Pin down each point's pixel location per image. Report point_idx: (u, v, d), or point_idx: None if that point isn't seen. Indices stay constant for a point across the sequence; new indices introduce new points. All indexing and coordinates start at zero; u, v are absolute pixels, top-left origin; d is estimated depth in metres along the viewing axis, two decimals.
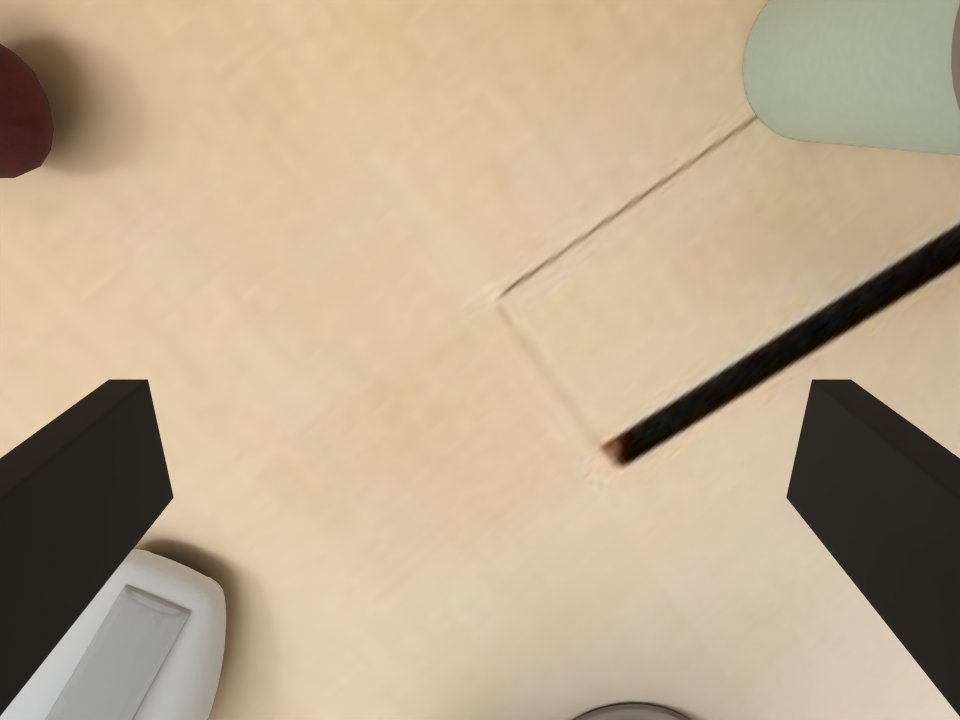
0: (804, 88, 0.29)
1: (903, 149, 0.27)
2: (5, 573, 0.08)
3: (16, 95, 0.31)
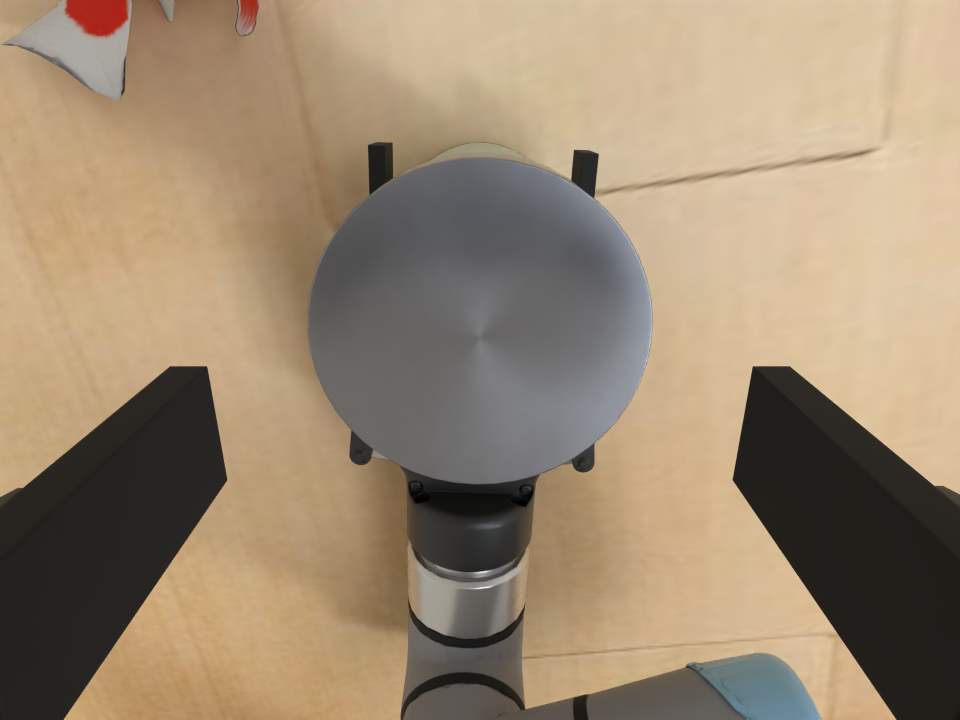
0: None
1: None
2: (98, 541, 0.09)
3: None
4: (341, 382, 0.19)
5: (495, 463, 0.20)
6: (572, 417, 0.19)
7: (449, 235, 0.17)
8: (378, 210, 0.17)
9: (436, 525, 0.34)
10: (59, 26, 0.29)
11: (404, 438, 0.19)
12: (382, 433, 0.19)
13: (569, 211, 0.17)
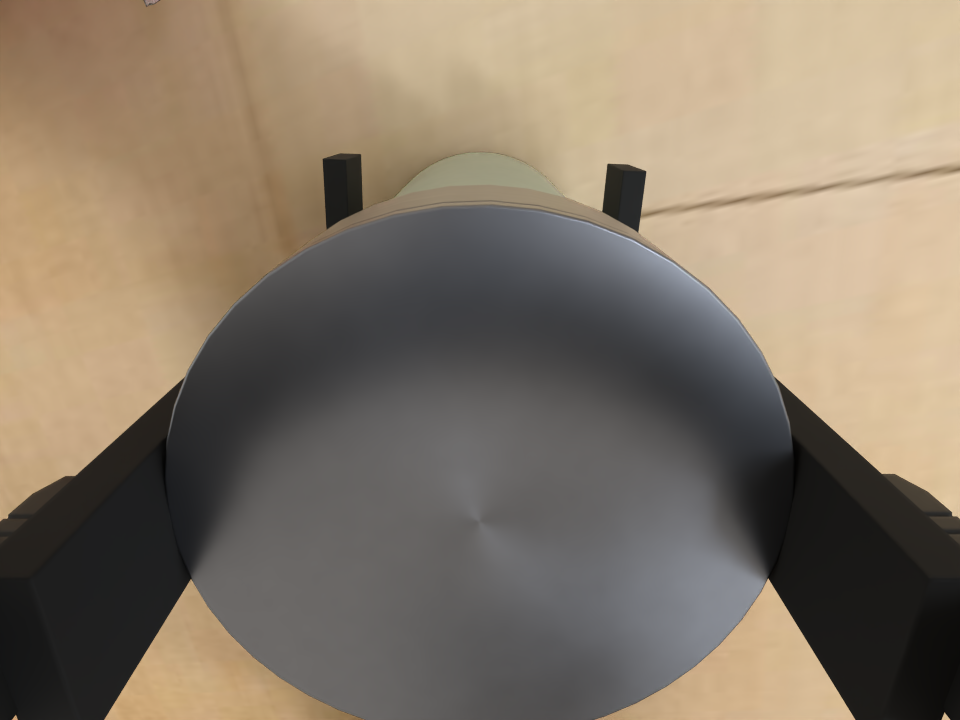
0: None
1: None
2: (146, 527, 0.09)
3: None
4: (235, 591, 0.11)
5: (506, 709, 0.12)
6: (640, 643, 0.11)
7: (421, 348, 0.09)
8: (283, 303, 0.09)
9: None
10: None
11: (350, 673, 0.11)
12: (311, 666, 0.11)
13: (652, 305, 0.09)
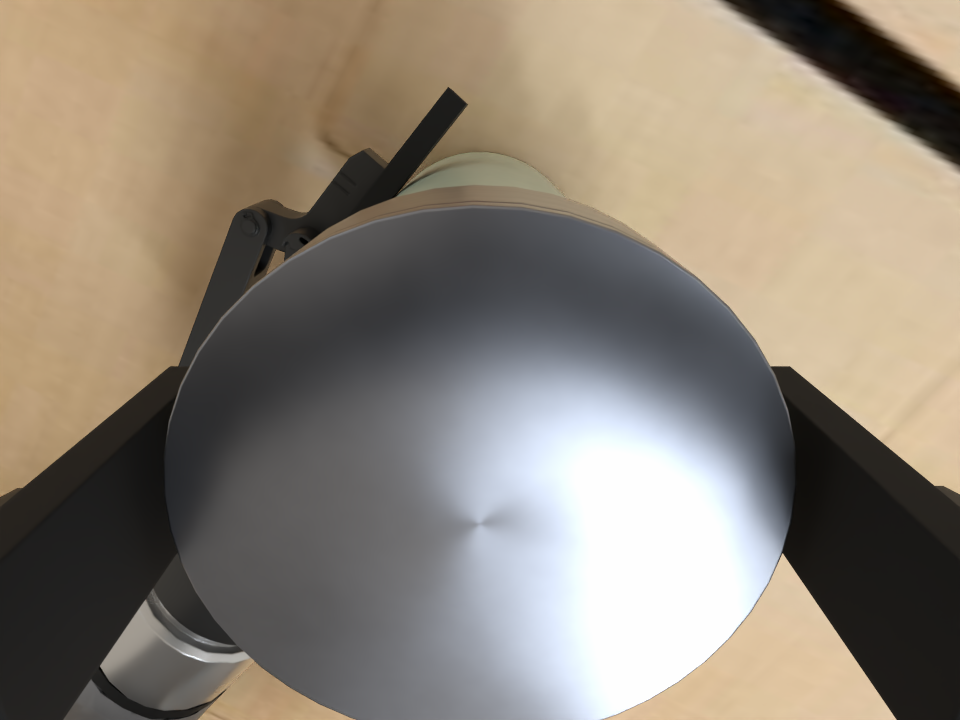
0: None
1: None
2: (97, 542, 0.09)
3: None
4: (476, 718, 0.12)
5: (728, 571, 0.10)
6: (707, 423, 0.09)
7: (285, 512, 0.10)
8: (221, 589, 0.11)
9: None
10: None
11: (609, 676, 0.11)
12: (585, 699, 0.11)
13: (292, 316, 0.09)
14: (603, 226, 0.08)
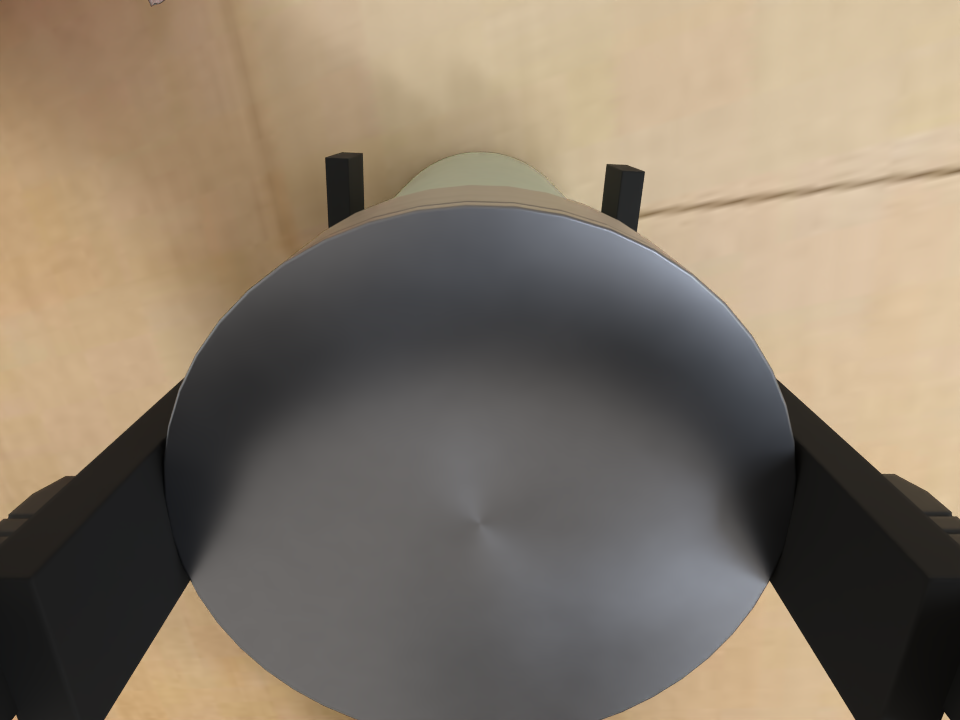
0: None
1: None
2: (147, 527, 0.09)
3: None
4: (627, 682, 0.11)
5: (735, 422, 0.09)
6: (589, 312, 0.09)
7: (330, 608, 0.11)
8: (339, 693, 0.11)
9: None
10: None
11: (712, 579, 0.10)
12: (709, 612, 0.11)
13: (206, 463, 0.10)
14: (356, 226, 0.08)
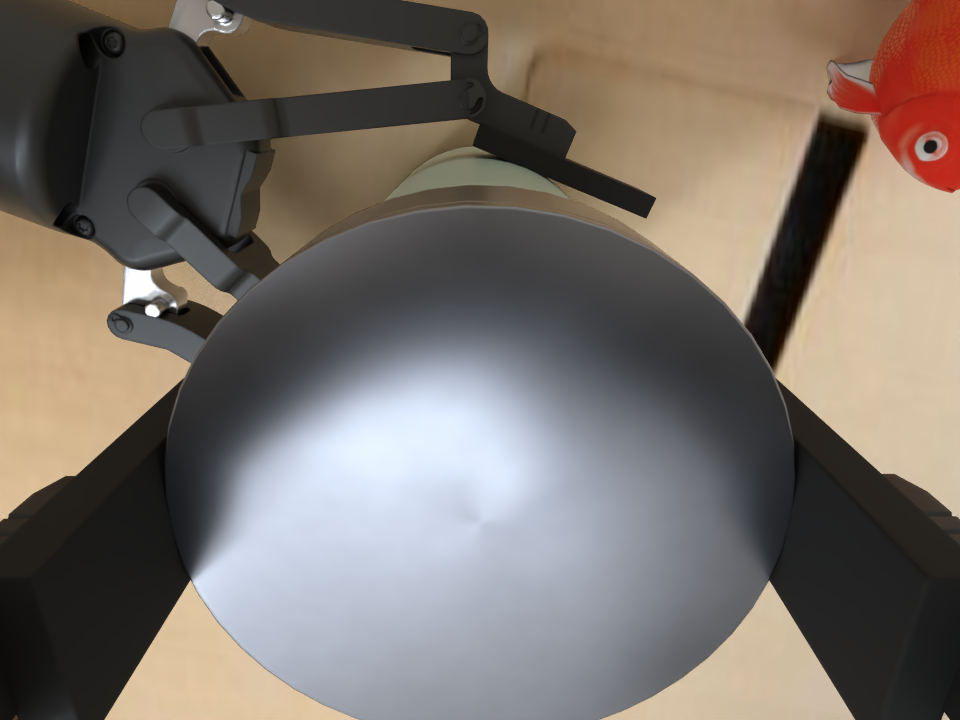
0: None
1: None
2: (147, 527, 0.09)
3: None
4: (627, 681, 0.11)
5: (735, 421, 0.09)
6: (590, 312, 0.09)
7: (330, 608, 0.11)
8: (339, 693, 0.11)
9: (29, 69, 0.18)
10: None
11: (712, 579, 0.10)
12: (709, 612, 0.11)
13: (206, 463, 0.10)
14: (356, 226, 0.08)
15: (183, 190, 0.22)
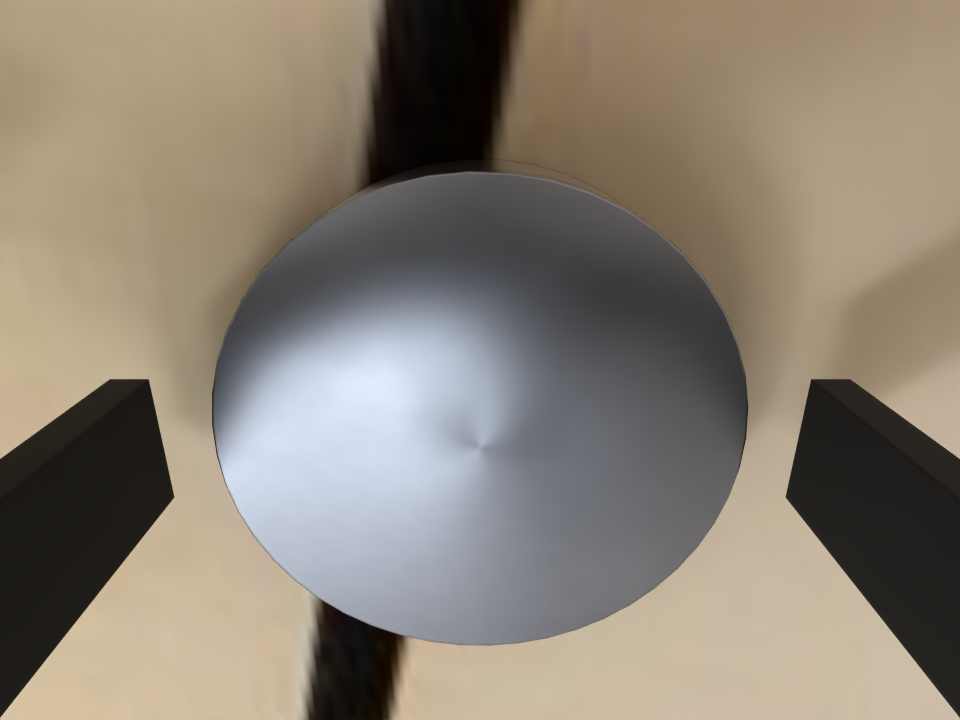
0: None
1: None
2: (6, 572, 0.08)
3: None
4: (607, 591, 0.13)
5: (695, 357, 0.11)
6: (571, 263, 0.10)
7: (351, 523, 0.12)
8: (358, 602, 0.13)
9: None
10: None
11: (679, 497, 0.12)
12: (677, 527, 0.12)
13: (248, 394, 0.11)
14: (377, 189, 0.10)
15: None
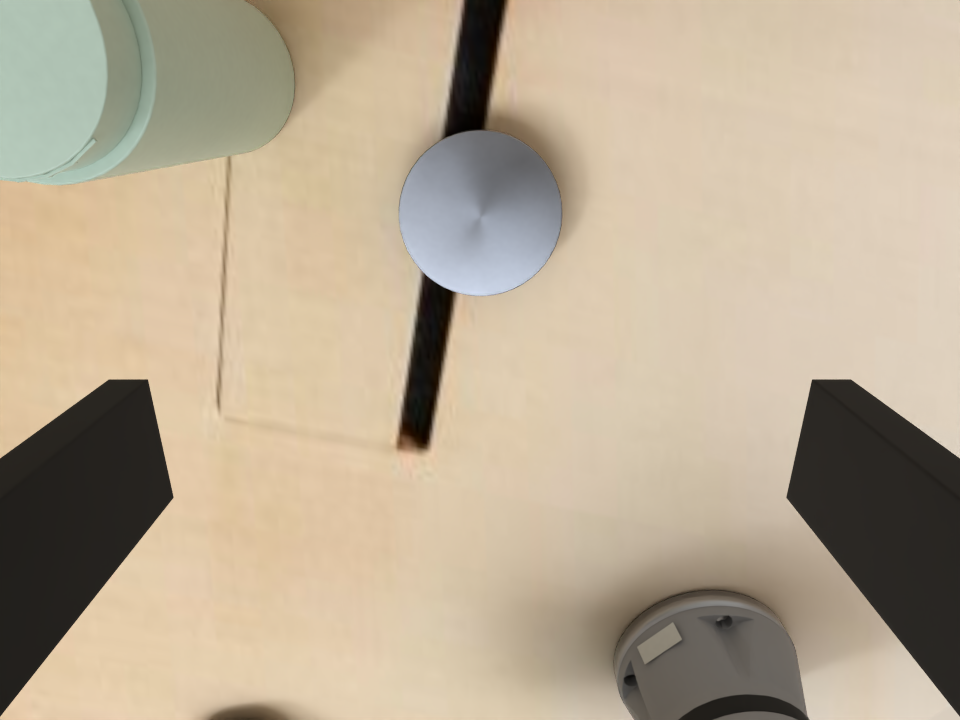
0: None
1: (196, 154, 0.29)
2: (5, 573, 0.08)
3: None
4: (522, 272, 0.40)
5: (544, 186, 0.38)
6: (506, 156, 0.37)
7: (439, 245, 0.39)
8: (440, 277, 0.40)
9: None
10: None
11: (543, 236, 0.39)
12: (543, 247, 0.39)
13: (410, 198, 0.38)
14: (452, 135, 0.37)
15: None
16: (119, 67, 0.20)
